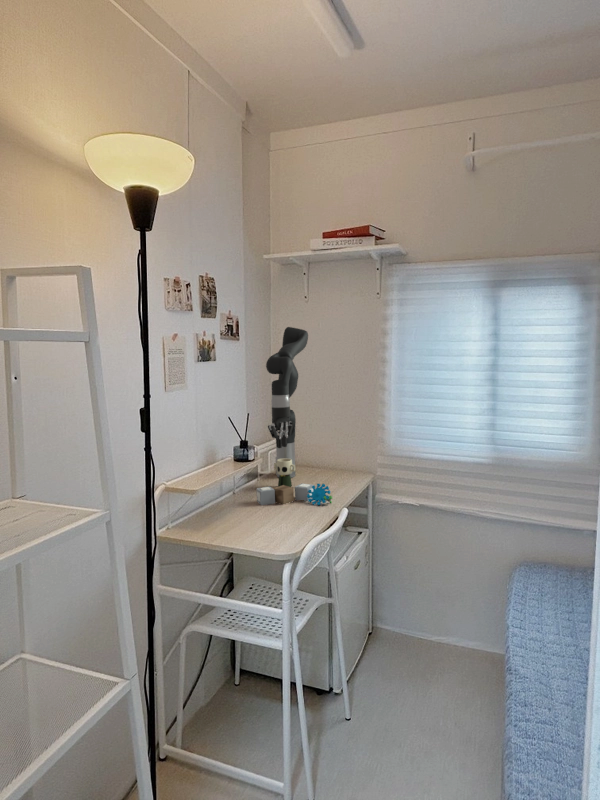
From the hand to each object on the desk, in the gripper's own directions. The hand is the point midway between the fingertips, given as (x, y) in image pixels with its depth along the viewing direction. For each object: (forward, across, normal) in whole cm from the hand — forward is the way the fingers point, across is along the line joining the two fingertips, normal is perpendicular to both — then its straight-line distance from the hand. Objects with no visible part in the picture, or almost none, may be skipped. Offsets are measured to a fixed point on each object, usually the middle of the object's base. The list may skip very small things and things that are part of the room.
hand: (281, 447), depth 220 cm
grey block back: (+23, +8, -4) cm, 25 cm away
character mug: (+23, +16, +14) cm, 32 cm away
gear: (+23, +8, -14) cm, 28 cm away
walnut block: (+23, 0, 0) cm, 23 cm away
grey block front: (+23, -5, +5) cm, 24 cm away
